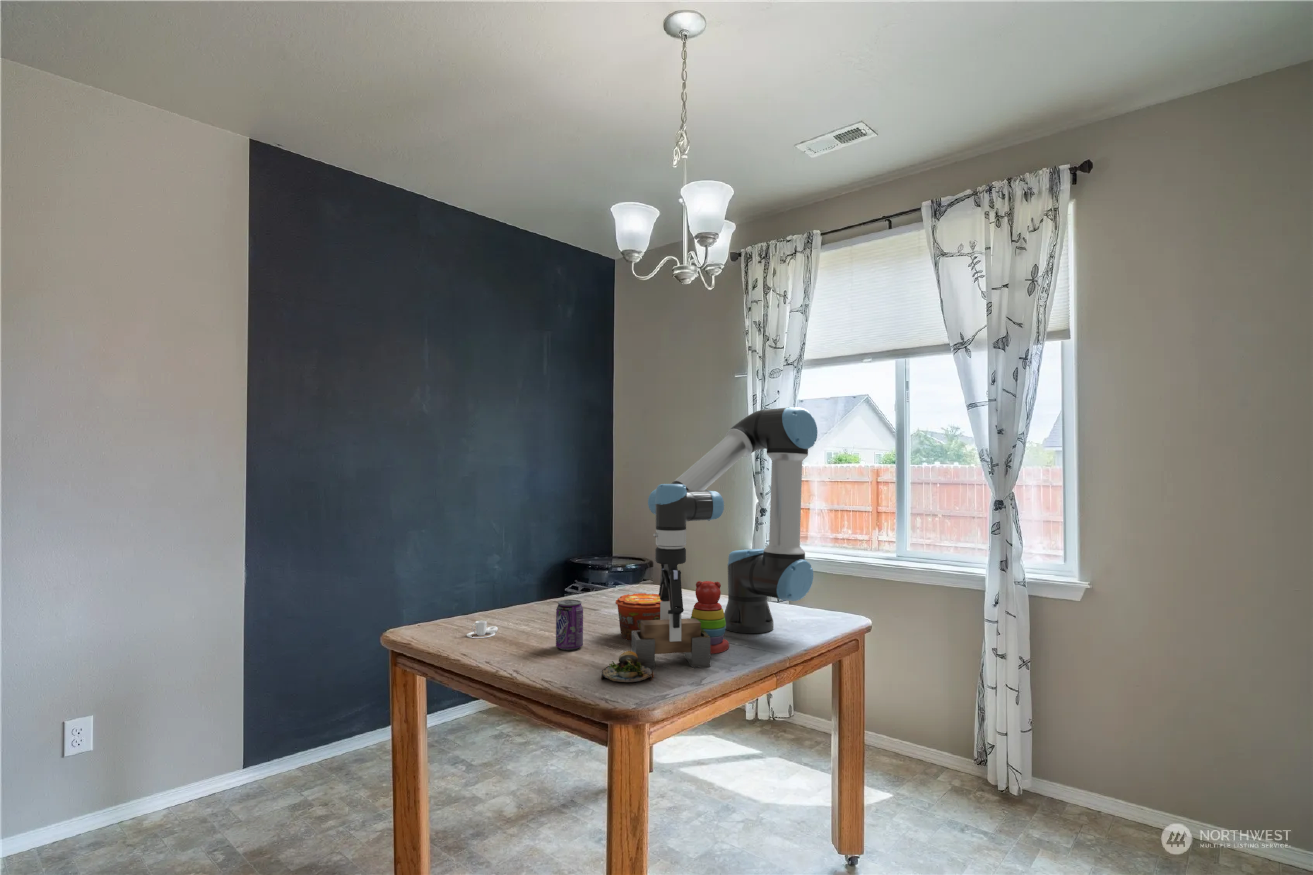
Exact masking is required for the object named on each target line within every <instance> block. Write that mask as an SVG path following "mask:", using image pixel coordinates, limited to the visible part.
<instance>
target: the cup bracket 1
mask: <svg viewBox="0 0 1313 875" xmlns="http://www.w3.org/2000/svg"><path fill="white" fill-rule="evenodd" d="M631 651H632V652H634V653H636V654H637V657H638V660H637V662H638V663H639V662H640V663H641V665H643V666H646V667H649V668H651V669H652V670H655V669H656V654H655V639H654V638H648V639H641V630H638V631H632V641H631Z"/></svg>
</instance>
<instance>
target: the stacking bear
mask: <svg viewBox="0 0 1313 875" xmlns="http://www.w3.org/2000/svg"><path fill="white" fill-rule="evenodd" d="M721 585H722V584H721V583H720V582H719V581H711V580H705V581H702V580H697V581H696V582H695V587H696V588H695V598H696V600H697V601H696V602H695V603H694V605H693V608H692V610H691V616H690V618H696V619H697V620H698V621H699V622H701V628H702V629H703V630H704V631H705V632H706V633H707V634H708V635H709V636H710V655H712V654H713V655H714V654H719V653H723V652H725V651H727V650H728V649H729V648H730V642H729V641H728V640H727V639H725V637H724V636H725V634H726V629H725V628H726V626H725V625H726V622H725V617H724V612H725V610H724V609H723V607H722V605H721V603H720V602H719V600H720V598H721V595H722V592H721V591H722V590H721Z"/></svg>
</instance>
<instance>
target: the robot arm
mask: <svg viewBox="0 0 1313 875" xmlns="http://www.w3.org/2000/svg"><path fill="white" fill-rule="evenodd" d="M817 439H818V426H817V422H816V420H815V418H814V417H813V416H812V414H811V412H809V410H807V409H805V408H803V407H793V406H791V407H781V408H768V409H767V408H766V409H761V410H757V411H755V412H751V413H750V414H749V415H747V416H745V417H743V419H741V420H739V421H738V422H737V423H736V424H734V425H733V426H732V427H731V428H729V429H728V430H727V431H726V433H725V437H724V438H723V439H722V440H720V441H719V442H718V443H717V444H715V446H714V447H712V448H711V449H710V450H709V451H707V453H705V454H704V455H702V457H700V458H699V459H698V460H696V462H695V463H693V464H692V465H691V466H690V467H688V469H687V470H685V471H684V472H683V473H681V475H680V476H678V477H676V479H675V480H673V481H672V482H671V483H661V484H657V486H656V488H655V489H654V490H652V491H651V493H649V496H648V498H647V499H648V500H647V505H648V509H649V511H650V512H651V513H652V514H654V515H655V533H653V535H652V536H653V538H655V545H656V546H657V547H656V548H655V549H654V550H655V554H654V556H655V559H654V561H655V563H657V564H660V580H659V591H658V594H659V597H660V600H661V601H660V620H664V619H670V629H669V641H670V642H673V641H681V619H682V614H683V613H684V610H685V609H684V603H683V589H682V575H681V574H682V571H681V569H680V570H679V569H678V565H683V564H685V563H686V561H687V548H686V545H687V522H696V521H698V522H699V521H708V522H709V521H712V520H717V519H719V518H720V517H721V516H722V515H723V513H724V510H725V501H724V498H723V496H722V495H721V493H720V492H718V491H715V490H707V489H708V488H709V487H710V486H711V485H712V484H714V483H715V482H716V481H717V480H718V479H719V478H720V477H722V476H723V475H724V474H725V473H726V472H727V471H728V470H729V469H730V468H731V467H733V466H734V465H735V464H736V463H737V462H738V461H739V460H741V459H742V458H747V457H749V456H751V455H752V454H753V453H754V452H757V451H760V450H764V449H766V455H767V456H768V458H769V459H770V460H771V474H770V475H771V478H770V502H769V503H770V504H769V506H770V508H769V533H768V534H769V536H768V540H769V541H768V545H767V546H766V547H765V548H752V549H751V548H750V549H740V550H739V549H737V550H733V551H731V552H730V553H729V554H728V558H727V559H728V560H727V593H728V594H727V597H728V598H727V603H726V606H725V609H724V617H725V622H726V625H725V626H726V628H725V631H726V630H727V631H730V632H733V633H740V634H741V633H742V634H761V633H762V634H763V633H769V632H771V631H773V630H774V618H773V615H772V612H771V609H770V606H769V603H768V600H769V599H768V597H769V598H773V599H779V600H781V601H789V602H797V601H801V600H802V599H803V598H805V597H807V593H809V592H810V590H811V588H812V585H813V583H814V582H813V581H814V569H813V567H812V565H811V563H810V562H808V560H806V552H805V550H804V549H803V548H802V547H801V517H802V516H801V515H802V514H801V513H802V486H803V485H802V482H803V481H802V480H803V479H802V478H803V461H804V460H805V459H806V458H808V456H809V449H810V448H812V447H813V446H815V442H816V441H817ZM668 600H669V601H668Z"/></svg>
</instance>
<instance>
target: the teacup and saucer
mask: <svg viewBox="0 0 1313 875" xmlns="http://www.w3.org/2000/svg"><path fill="white" fill-rule="evenodd" d="M487 624H488V621H487V620H476V621H475V623H473V624H472V625H471V629H472V631H471V632H468V633H466V637H467V638H472V639H483V638H484V639H485V638H491V637H494V636H495V635H496V633H497V632H498V631H499V630H498V629H499V628H498V626H494V625H492V626H488V625H487ZM474 626H475V629H474ZM487 626H488V627H487ZM474 634H476V636H473V635H474ZM486 634H487V635H486ZM472 636H473V637H472Z"/></svg>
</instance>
